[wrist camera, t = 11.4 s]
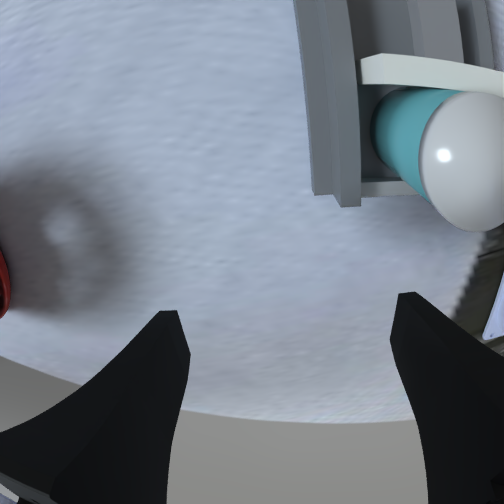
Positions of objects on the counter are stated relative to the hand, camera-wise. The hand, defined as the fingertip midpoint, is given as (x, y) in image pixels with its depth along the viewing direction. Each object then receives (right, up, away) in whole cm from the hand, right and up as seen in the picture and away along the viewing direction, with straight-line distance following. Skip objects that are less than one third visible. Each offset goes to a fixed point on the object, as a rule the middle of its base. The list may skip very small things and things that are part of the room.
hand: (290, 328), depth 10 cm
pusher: (+7, +13, +2) cm, 15 cm away
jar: (+7, +9, +4) cm, 12 cm away
